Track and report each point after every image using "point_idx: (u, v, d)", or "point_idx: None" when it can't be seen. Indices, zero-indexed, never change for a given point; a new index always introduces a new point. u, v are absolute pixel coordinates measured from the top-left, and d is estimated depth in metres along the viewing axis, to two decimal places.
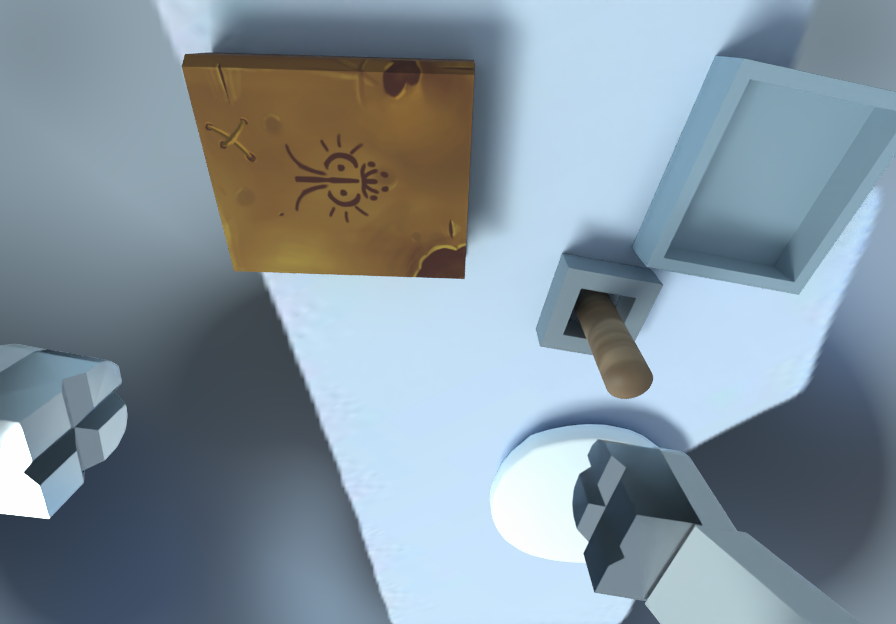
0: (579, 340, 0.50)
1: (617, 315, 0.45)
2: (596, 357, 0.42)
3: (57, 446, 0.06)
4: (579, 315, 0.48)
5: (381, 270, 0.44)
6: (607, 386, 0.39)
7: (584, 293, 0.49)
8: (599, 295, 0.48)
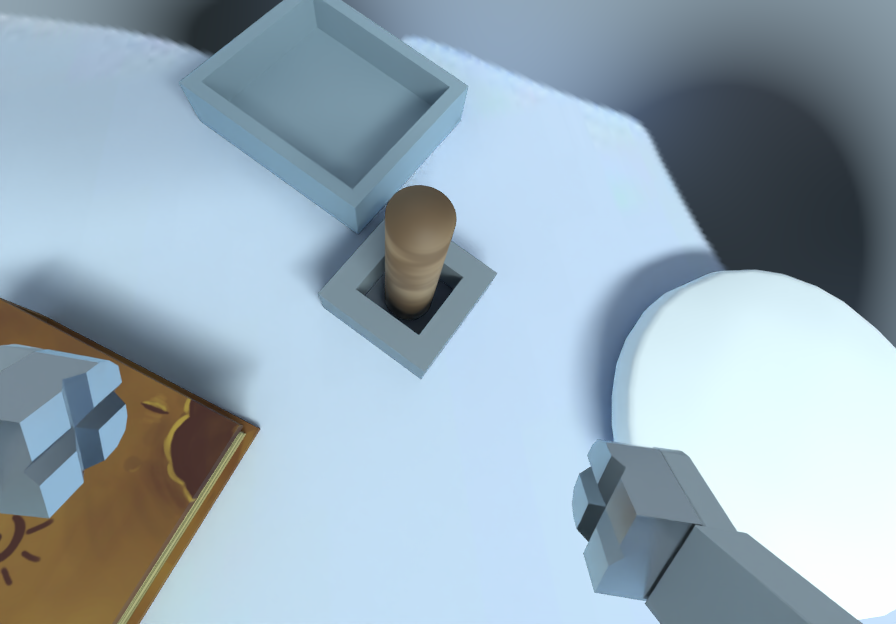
0: (438, 317, 0.34)
1: None
2: (402, 269, 0.28)
3: (57, 445, 0.06)
4: (398, 305, 0.35)
5: (147, 549, 0.26)
6: (416, 246, 0.24)
7: (385, 296, 0.37)
8: None
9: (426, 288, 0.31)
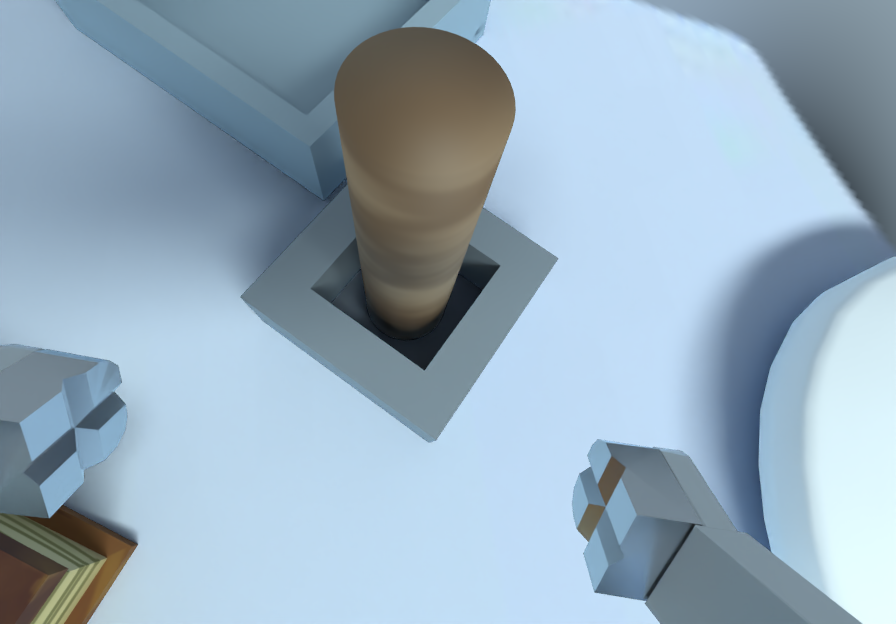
0: (458, 336, 0.19)
1: None
2: (387, 239, 0.12)
3: (57, 445, 0.06)
4: (388, 316, 0.19)
5: None
6: (416, 167, 0.09)
7: (366, 301, 0.22)
8: None
9: (438, 284, 0.16)
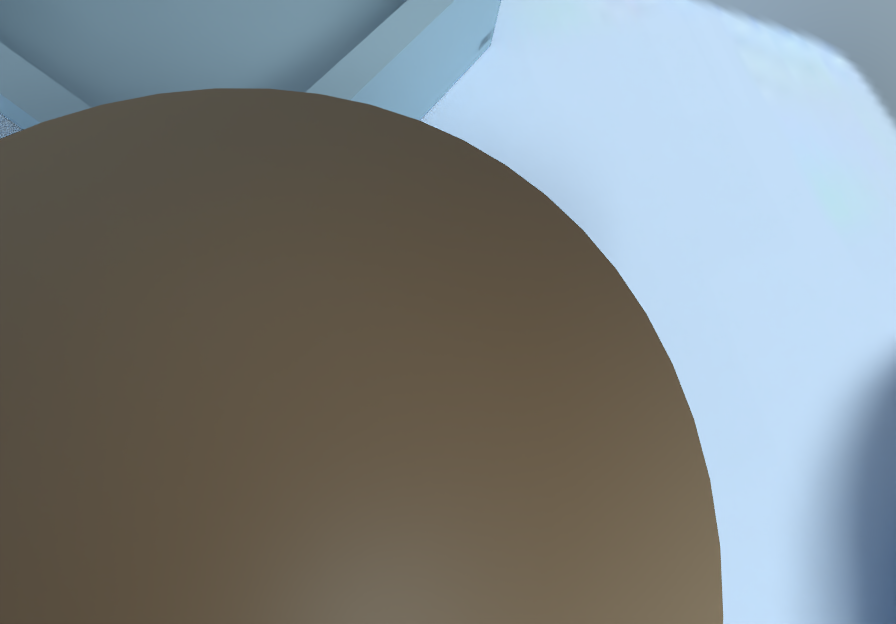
0: None
1: None
2: None
3: None
4: None
5: None
6: None
7: None
8: None
9: None
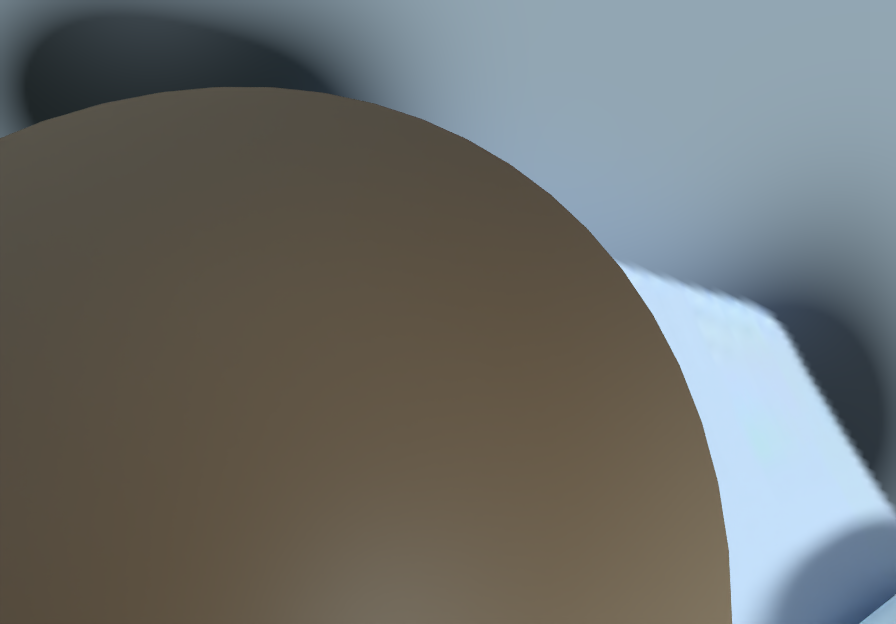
0: None
1: None
2: None
3: None
4: None
5: None
6: None
7: None
8: None
9: None
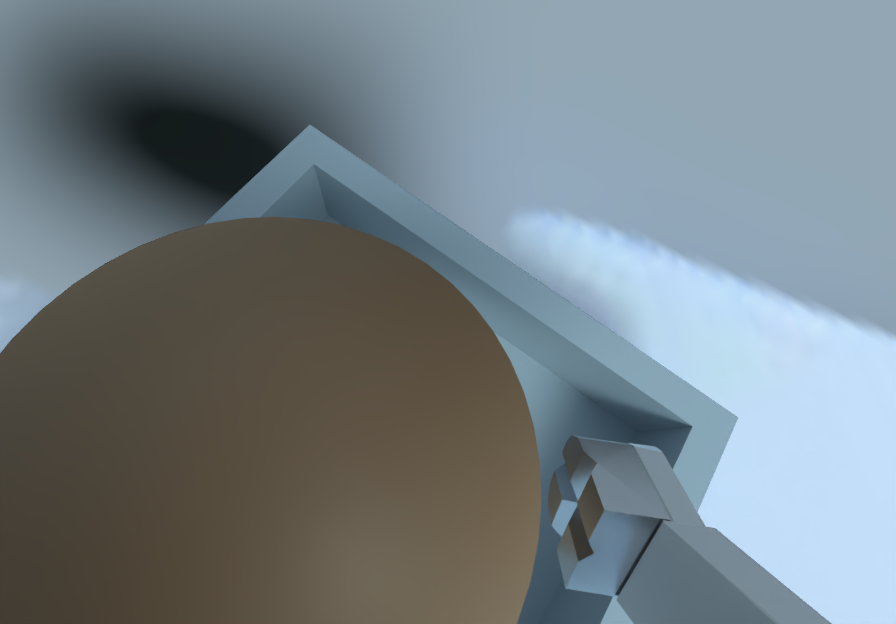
0: None
1: None
2: None
3: None
4: None
5: None
6: None
7: None
8: None
9: None
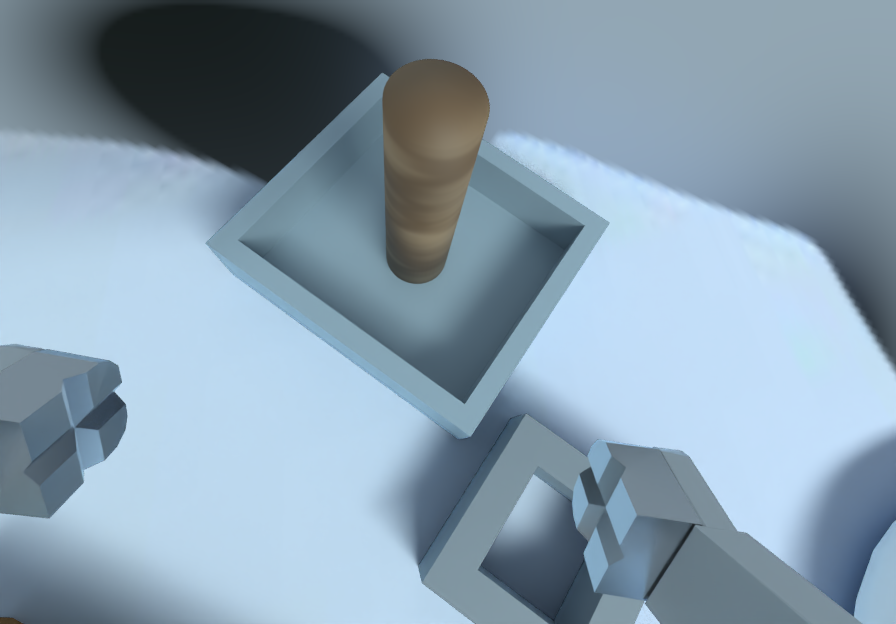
0: (603, 609, 0.23)
1: None
2: (409, 193, 0.19)
3: (57, 445, 0.06)
4: (404, 260, 0.26)
5: None
6: (430, 144, 0.16)
7: (386, 252, 0.28)
8: None
9: (441, 230, 0.23)
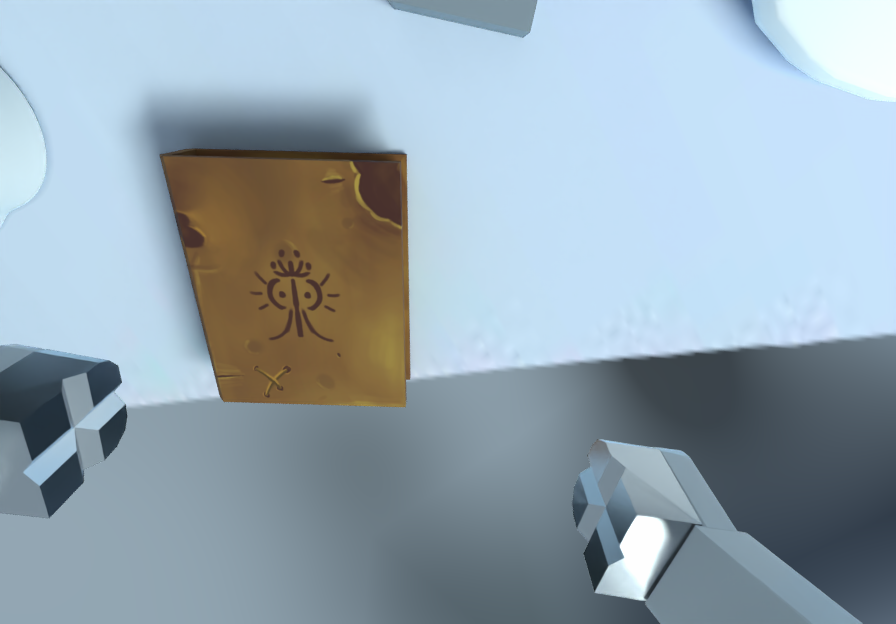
0: None
1: None
2: None
3: (57, 445, 0.06)
4: None
5: (394, 265, 0.37)
6: None
7: None
8: None
9: None
